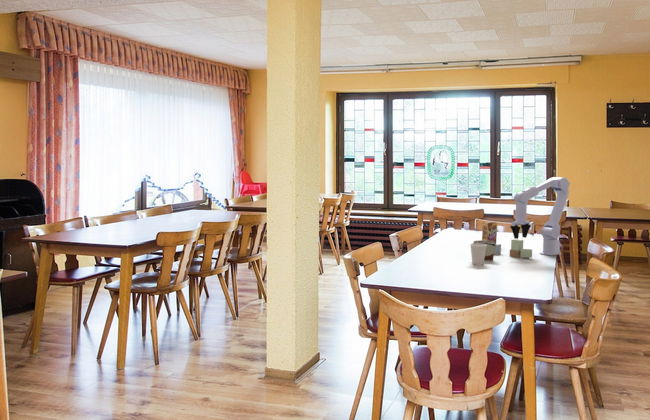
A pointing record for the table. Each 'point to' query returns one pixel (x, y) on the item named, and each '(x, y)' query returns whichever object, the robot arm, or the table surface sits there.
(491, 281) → the table surface
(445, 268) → the table surface
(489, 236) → the candy box
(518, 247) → the sage block
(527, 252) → the pale green block
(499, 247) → the slate block
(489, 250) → the food container
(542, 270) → the table surface
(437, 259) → the table surface
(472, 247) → the dixie cup
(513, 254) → the walnut plinth
